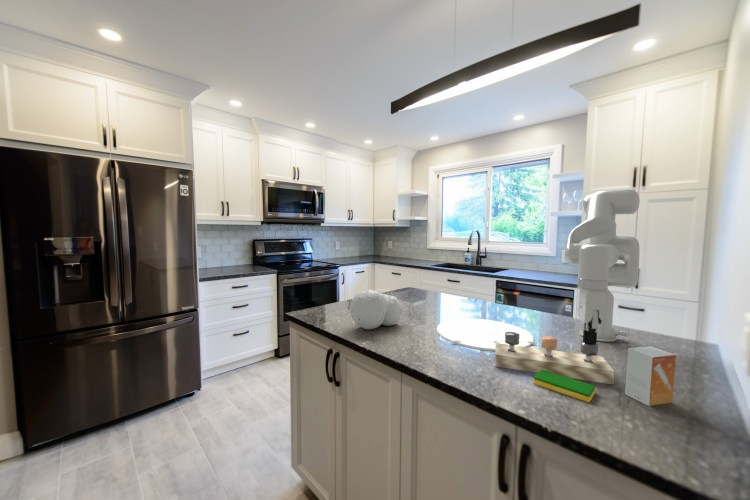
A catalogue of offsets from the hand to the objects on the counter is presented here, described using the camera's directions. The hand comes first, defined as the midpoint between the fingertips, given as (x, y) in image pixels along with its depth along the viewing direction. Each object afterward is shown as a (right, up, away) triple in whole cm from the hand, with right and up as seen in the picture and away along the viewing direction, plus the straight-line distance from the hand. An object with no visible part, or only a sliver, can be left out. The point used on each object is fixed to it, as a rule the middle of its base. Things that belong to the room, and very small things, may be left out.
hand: (589, 343), depth 95 cm
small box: (+6, -11, -13) cm, 18 cm away
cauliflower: (-66, -7, +47) cm, 82 cm away
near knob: (0, -7, +1) cm, 7 cm away
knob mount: (-10, -9, +5) cm, 15 cm away
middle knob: (-10, -6, +5) cm, 13 cm away
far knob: (-20, -6, +9) cm, 23 cm away
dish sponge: (-13, -11, -8) cm, 19 cm away
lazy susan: (-20, -8, +38) cm, 43 cm away
